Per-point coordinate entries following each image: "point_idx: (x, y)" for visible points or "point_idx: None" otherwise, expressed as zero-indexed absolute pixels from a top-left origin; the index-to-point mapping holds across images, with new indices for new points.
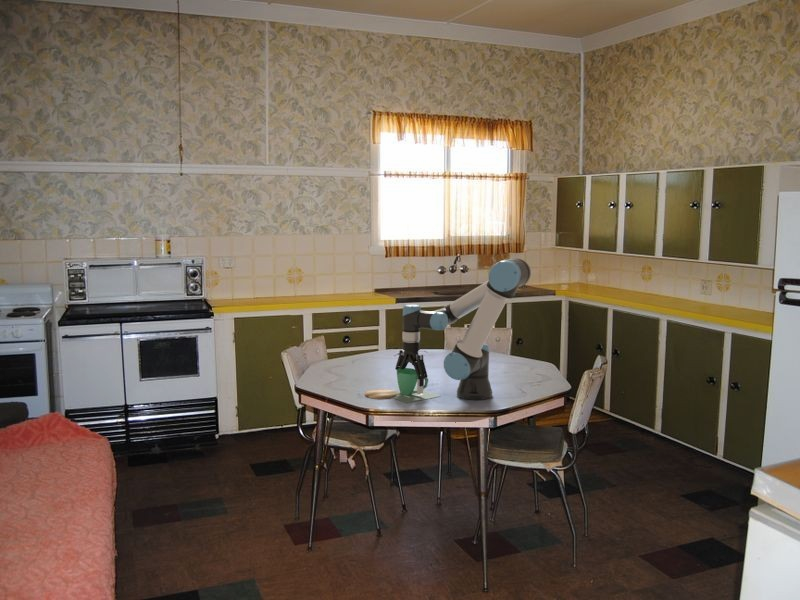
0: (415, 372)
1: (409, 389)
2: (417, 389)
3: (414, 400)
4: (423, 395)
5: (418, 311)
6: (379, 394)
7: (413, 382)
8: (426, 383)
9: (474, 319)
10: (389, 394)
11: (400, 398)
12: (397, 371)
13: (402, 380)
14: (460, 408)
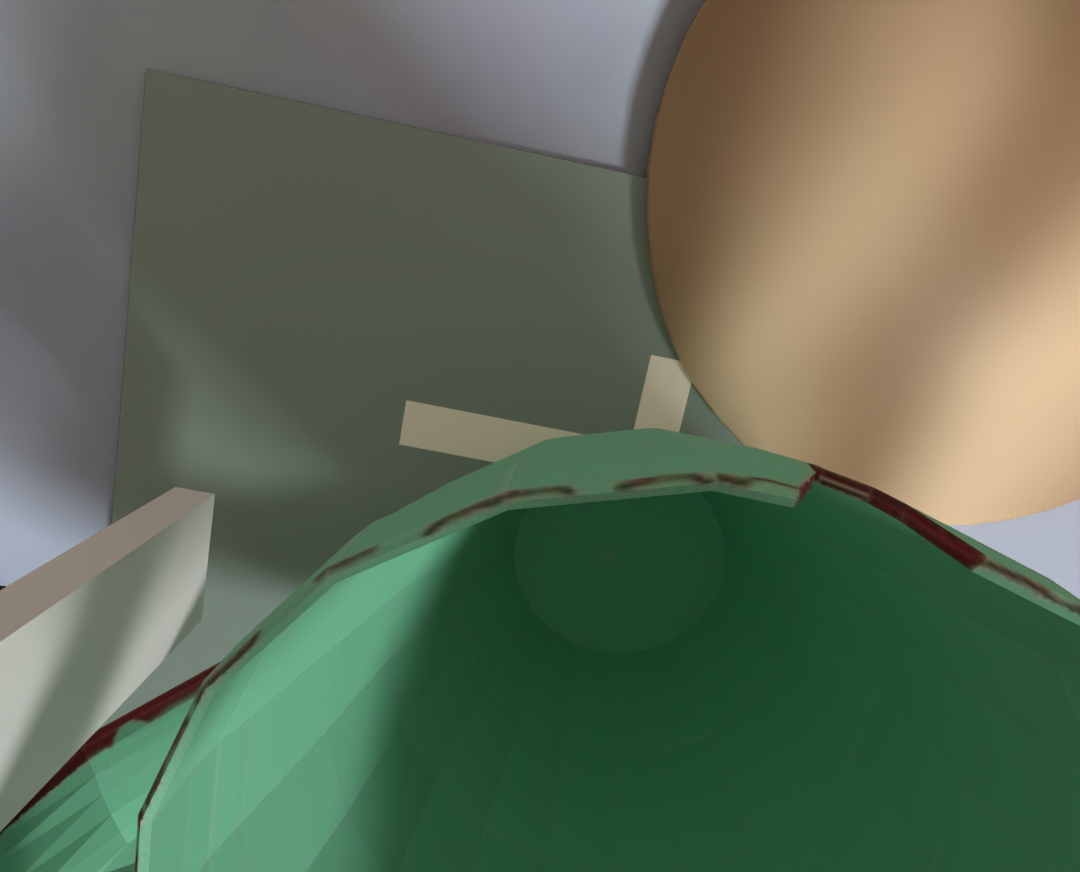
0: None
1: (460, 534)
2: (148, 523)
3: (173, 320)
4: None
5: None
6: (968, 91)
7: (342, 674)
8: (7, 831)
9: None
10: (799, 248)
11: (474, 235)
12: (998, 559)
13: (557, 438)
14: None
